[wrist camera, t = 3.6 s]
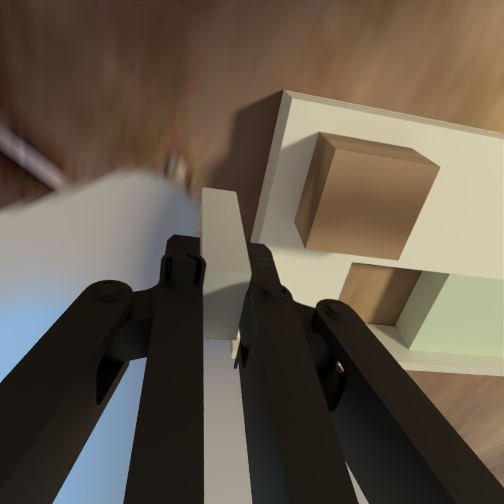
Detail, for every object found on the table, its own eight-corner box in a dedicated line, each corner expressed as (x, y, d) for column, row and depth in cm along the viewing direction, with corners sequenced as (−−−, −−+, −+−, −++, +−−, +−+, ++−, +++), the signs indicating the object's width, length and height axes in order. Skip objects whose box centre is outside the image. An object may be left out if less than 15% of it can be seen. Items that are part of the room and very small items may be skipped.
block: (319, 131, 23) (335, 148, 20) (411, 148, 24) (440, 166, 21) (293, 222, 26) (305, 249, 23) (377, 233, 27) (398, 260, 24)
